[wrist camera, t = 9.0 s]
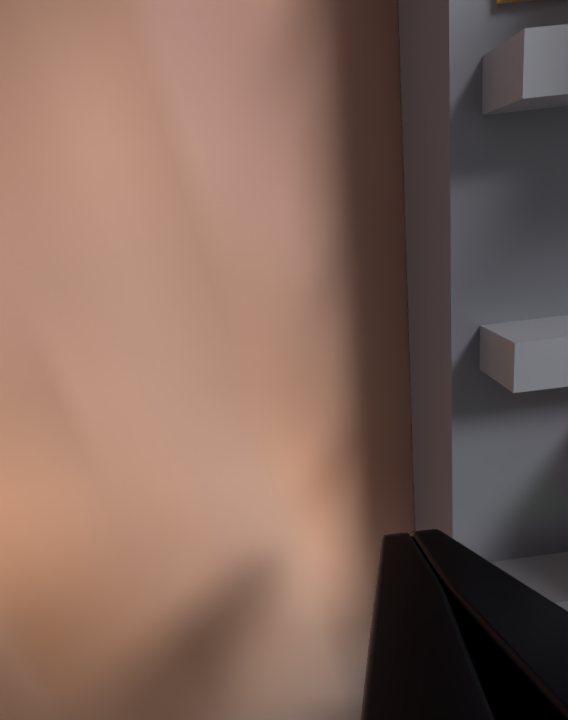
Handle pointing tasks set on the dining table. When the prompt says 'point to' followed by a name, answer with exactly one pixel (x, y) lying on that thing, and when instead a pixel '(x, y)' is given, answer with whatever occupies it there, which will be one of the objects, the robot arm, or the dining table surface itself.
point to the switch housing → (489, 277)
